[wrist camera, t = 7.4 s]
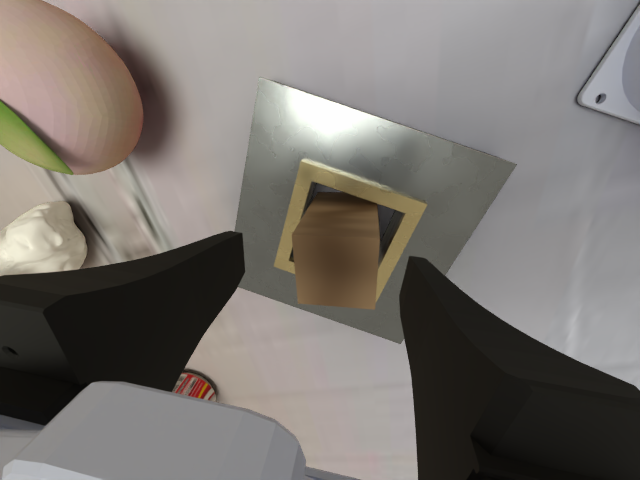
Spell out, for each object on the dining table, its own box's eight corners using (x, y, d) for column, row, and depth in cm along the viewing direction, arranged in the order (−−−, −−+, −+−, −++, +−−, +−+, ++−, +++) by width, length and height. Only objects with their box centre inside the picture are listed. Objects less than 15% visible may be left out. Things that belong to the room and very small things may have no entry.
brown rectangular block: (376, 192, 20) (380, 238, 13) (373, 245, 22) (375, 309, 15) (317, 192, 21) (291, 234, 14) (320, 243, 23) (297, 303, 16)
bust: (69, 258, 32) (39, 356, 26) (-30, 238, 26) (-99, 356, 20) (114, 201, 27) (91, 303, 21) (5, 161, 22) (-71, 285, 15)
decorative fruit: (201, 100, 19) (60, 92, 10) (151, 176, 23) (13, 219, 14) (88, -16, 17) (-205, -146, 8) (52, 87, 21) (-184, 71, 12)
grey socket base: (498, 157, 18) (521, 166, 15) (397, 323, 25) (401, 349, 22) (272, 80, 18) (255, 75, 15) (238, 267, 25) (223, 286, 23)
